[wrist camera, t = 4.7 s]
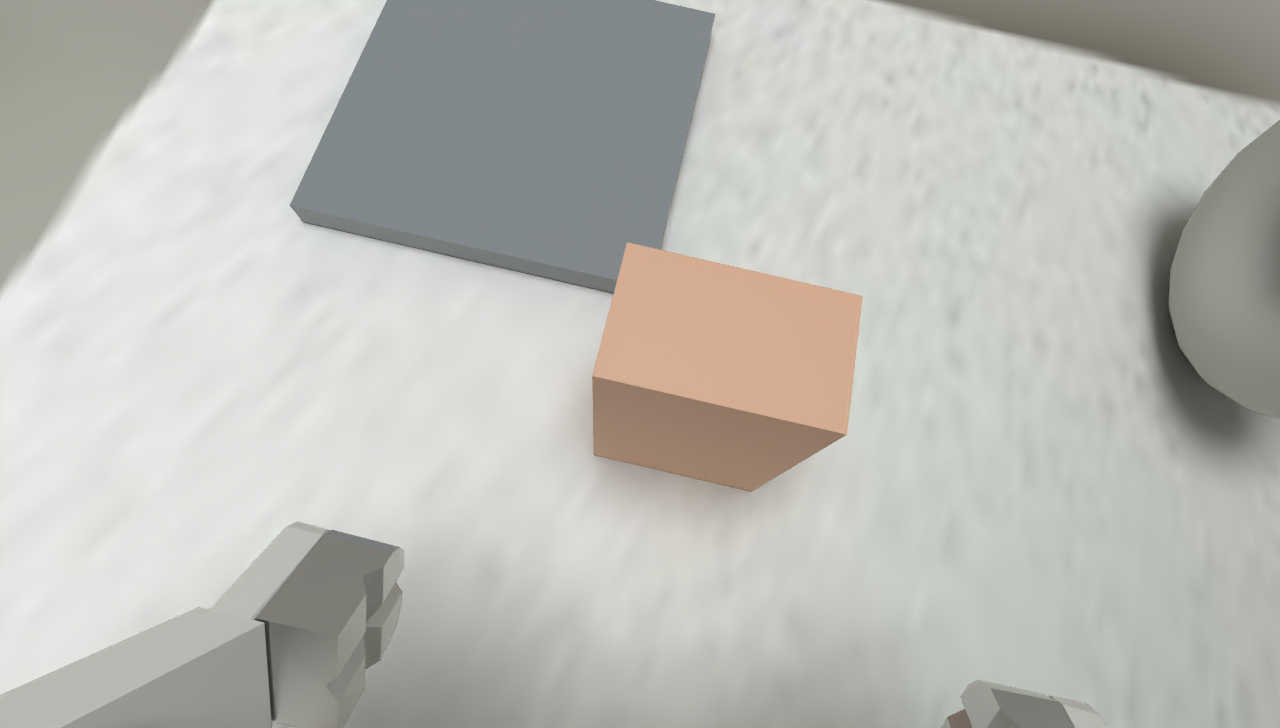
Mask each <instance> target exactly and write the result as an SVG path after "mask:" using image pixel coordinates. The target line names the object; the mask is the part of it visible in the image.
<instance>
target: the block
mask: <svg viewBox="0 0 1280 728" xmlns="http://www.w3.org/2000/svg"><path fill="white" fill-rule="evenodd" d="M861 305H862V296H860V295H856V294H851V293H847V292H843V291H838V290H834V289H830V288H825V287H821V286H816V285H812V284H808V283H803V282H799V281H795V280H790V279H786V278H781V277H777V276H773V275H768V274H764V273H759V272H755V271H751V270H746V269H742V268H738V267H733V266H729V265H724V264H720V263H716V262H711V261H707V260H703V259H698V258H694V257H689V256H685V255H681V254H676V253H672V252H667V251H663V250H659V249H654V248H650V247H646V246H641V245H637V244H632V243H628V242H627V244H626V248H625V252H624V256H623V260H622V264H621V268H620V271H619V275H618V279H617V283H616V287H615V291H614V295H613V298H612V302H611V306H610V310H609V314H608V318H607V322H606V325H605V329H604V333H603V337H602V341H601V345H600V349H599V352H598V356H597V360H596V364H595V368H594V372H593V376H592V380H593V433H594V455H596V456H600V457H605V458H609V459H613V460H618V461H622V462H626V463H630V464H635V465H639V466H643V467H648V468H652V469H656V470H661V471H665V472H669V473H674V474H678V475H682V476H686V477H691V478H695V479H699V480H704V481H708V482H712V483H717V484H721V485H725V486H730V487H734V488H738V489H742V490H747V491H753V490H755V489H756V488H758V487H760V486H761V485H763V484H765V483H766V482H768V481H770V480H771V479H773V478H775V477H777V476H778V475H780V474H782V473H783V472H785V471H787V470H788V469H790V468H792V467H793V466H795V465H797V464H798V463H800V462H802V461H803V460H805V459H807V458H808V457H810V456H812V455H813V454H815V453H817V452H818V451H820V450H822V449H823V448H825V447H827V446H828V445H830V444H832V443H833V442H835V441H837V440H838V439H840V438H842V437H843V436H845V435H847V428H848V419H849V410H850V401H851V393H852V384H853V375H854V366H855V357H856V349H857V340H858V331H859V322H860V314H861Z"/></svg>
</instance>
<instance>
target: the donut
mask: <svg viewBox="0 0 1280 728" xmlns="http://www.w3.org/2000/svg"><path fill="white" fill-rule="evenodd" d="M1169 310H1170V314H1171V318H1172V322H1173V326H1174V330H1175V334H1176V337H1177V341H1178V345H1179V347H1180V349H1181V350H1182V352H1183V353H1184V354H1185V356H1186V357H1187V358H1188V360H1189V361H1190V363H1191V364H1192V365H1193V367H1194V368H1195V370H1196V371H1197V372H1198V374H1199V375H1200V376H1201V377H1202V378H1203V379H1204V380H1205V381H1206V382H1207V383H1208V384H1209V385H1210V386H1211V387H1213V388H1215V389H1216V390H1218V391H1219V392H1221V393H1223V394H1224V395H1226V396H1227V397H1229V398H1231V399H1232V400H1234V401H1235V402H1237V403H1239V404H1240V405H1242V406H1243V407H1245V408H1247V409H1249V410H1252V411H1254V412H1257V413H1259V414H1263V415H1267V416H1272V417H1276V418H1280V120H1279V121H1278V122H1276V123H1275V124H1274V125H1273V126H1272V127H1270V128H1269V129H1268V130H1267V131H1265V132H1264V133H1263V134H1262V135H1260V136H1259V137H1258V138H1257V139H1255V140H1254V141H1253V142H1252V143H1250V144H1249V145H1248V146H1247V147H1245V148H1244V149H1243V150H1242V151H1240V152H1239V153H1238V154H1237V155H1236V156H1235V157H1234V159H1233V160H1232V161H1231V162H1230V163H1229V164H1228V166H1227V167H1226V168H1225V169H1224V170H1223V171H1222V173H1221V174H1220V175H1219V176H1218V177H1217V178H1216V179H1215V181H1214V182H1213V183H1212V184H1211V185H1210V186H1209V188H1208V189H1207V190H1206V191H1205V193H1204V195H1203V196H1202V198H1201V200H1200V201H1199V203H1198V205H1197V207H1196V208H1195V210H1194V212H1193V214H1192V215H1191V217H1190V219H1189V220H1188V222H1187V224H1186V226H1185V227H1184V229H1183V232H1182V235H1181V238H1180V241H1179V244H1178V247H1177V250H1176V253H1175V256H1174V260H1173V263H1172V266H1171V272H1170V289H1169Z"/></svg>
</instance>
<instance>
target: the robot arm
mask: <svg viewBox="0 0 1280 728" xmlns="http://www.w3.org/2000/svg"><path fill="white" fill-rule="evenodd" d="M403 569H404V550H403V549H401V548H400V547H397V546H393V545H389V544H385V543H381V542H377V541H374V540H370V539H366V538H362V537H358V536H354V535H350V534H346V533H343V532H339V531H335V530H328V529H324V528H320V527H316V526H313V525H309V524H305V523H301V522H295V523H293V524H291V525H289V526H287V527H286V528H284V530H283V531H282V532H281V533H280V534H279V535H278V536H277V537H276V538H275V539H274V540H273V541H272V543H271V544H270V545H269V546H268V547H267V548H266V549H265V550H264V551H263V552H262V553H261V555H260V556H259V557H258V558H257V559H256V560H255V561H254V562H253V563H252V564H251V565H250V566H249V568H248V569H247V570H246V571H245V572H244V573H243V574H242V575H241V576H240V577H239V578H238V580H237V581H236V582H235V583H234V584H233V585H232V586H231V587H230V588H229V589H228V590H227V591H226V593H225V594H224V595H223V596H222V597H221V598H220V599H219V600H218V601H217V602H216V603H215V605H214V606H213V607H212V608H211V609H205V608H200V607H198V608H196V609H193V610H191V611H189V612H187V613H184V614H182V615H180V616H178V617H175V618H173V619H171V620H168V621H166V622H164V623H162V624H159V625H157V626H155V627H153V628H150V629H148V630H146V631H144V632H141V633H139V634H137V635H135V636H132V637H130V638H128V639H126V640H123V641H121V642H119V643H117V644H114V645H112V646H110V647H108V648H105V649H103V650H101V651H99V652H96V653H94V654H92V655H90V656H87V657H85V658H83V659H81V660H78V661H76V662H74V663H72V664H69V665H67V666H65V667H63V668H60V669H58V670H56V671H53V672H51V673H49V674H47V675H44V676H42V677H40V678H38V679H35V680H33V681H31V682H29V683H26V684H24V685H22V686H20V687H17V688H15V689H13V690H11V691H8V692H6V693H4V694H2V695H0V728H271V727H272V722H273V723H278V724H283V725H288V726H293V727H298V728H343V726H344V725H345V723H346V721H347V719H348V718H349V716H350V714H351V712H352V710H353V709H354V707H355V705H356V703H357V701H358V700H359V698H360V696H361V694H362V692H363V691H364V683H365V669H367V668H368V667H370V666H372V665H373V664H375V663H377V662H378V661H380V660H381V658H382V656H383V654H384V652H385V650H386V649H387V647H388V645H389V643H390V641H391V638H392V635H393V633H394V630H395V627H396V625H397V622H398V618H399V614H400V609H401V604H402V590H401V589H400V587H399V586H398V585H397V583H396V580H397V579H398V577H399V575H400V574H401V572H402V570H403ZM960 697H961V700H962V703H963V706H964V710H962V711H959V712H957V713H955V714H953V715H951V716H949V717H947V718H946V720H945V722H944V724H943V725H942V727H941V728H1107V727H1106V725H1105V723H1104V722H1103V720H1102V718H1101V717H1100V715H1099V714H1098V713H1097V712H1096V711H1095V710H1094V709H1093V708H1092V707H1091V706H1089V705H1088V704H1085V703H1081V702H1076V701H1072V700H1067V699H1063V698H1058V697H1054V696H1047V695H1044V694H1041V693H1036V692H1031V691H1027V690H1022V689H1018V688H1013V687H1009V686H1004V685H1000V684H995V683H990V682H986V681H981V680H977V681H975V682H973V683H971V684H969V685H968V686H967V688H966V689H965V691H964V692H963V694H962V695H961V696H960Z"/></svg>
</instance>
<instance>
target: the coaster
mask: <svg viewBox="0 0 1280 728" xmlns="http://www.w3.org/2000/svg"><path fill="white" fill-rule="evenodd" d="M714 17H715V14H713V13H708V12H704V11H699V10H695V9H691V8H686V7H682V6H677V5H673V4H668V3H664V2H659V1H655V0H387V1H386V3H385V6H384V8H383V10H382V12H381V14H380V16H379V18H378V20H377V22H376V25H375V27H374V29H373V31H372V33H371V35H370V37H369V39H368V41H367V44H366V46H365V48H364V50H363V52H362V54H361V56H360V58H359V60H358V63H357V65H356V67H355V69H354V71H353V73H352V75H351V77H350V79H349V81H348V84H347V86H346V88H345V90H344V92H343V94H342V96H341V98H340V100H339V103H338V105H337V107H336V109H335V111H334V113H333V115H332V117H331V119H330V122H329V124H328V126H327V128H326V130H325V132H324V134H323V136H322V138H321V141H320V143H319V145H318V147H317V149H316V151H315V153H314V155H313V157H312V160H311V162H310V164H309V166H308V168H307V170H306V172H305V174H304V176H303V179H302V181H301V183H300V185H299V187H298V189H297V191H296V193H295V195H294V197H293V200H292V202H291V204H290V206H291V208H292V209H293V210H294V211H295V212H296V214H297V215H298V216H299V217H300V219H301V220H302V221H303V222H306V223H310V224H315V225H319V226H323V227H328V228H332V229H336V230H341V231H345V232H350V233H354V234H358V235H363V236H367V237H371V238H376V239H380V240H384V241H389V242H393V243H397V244H402V245H406V246H410V247H415V248H419V249H424V250H428V251H432V252H437V253H441V254H445V255H450V256H454V257H458V258H463V259H467V260H471V261H476V262H480V263H485V264H489V265H493V266H498V267H502V268H506V269H511V270H515V271H519V272H524V273H528V274H532V275H537V276H541V277H546V278H550V279H554V280H559V281H563V282H567V283H572V284H576V285H580V286H585V287H589V288H593V289H598V290H602V291H606V292H611V293H614V291H615V287H616V283H617V279H618V275H619V271H620V268H621V264H622V260H623V256H624V252H625V248H626V244H627V242H628V243H632V244H637V245H641V246H646V247H650V248H654V249H659V250H660V245H661V241H662V237H663V233H664V229H665V224H666V220H667V216H668V212H669V208H670V204H671V199H672V195H673V191H674V187H675V183H676V178H677V174H678V170H679V166H680V162H681V157H682V153H683V149H684V145H685V141H686V137H687V132H688V128H689V124H690V120H691V116H692V111H693V107H694V103H695V99H696V95H697V90H698V86H699V82H700V78H701V74H702V70H703V65H704V61H705V57H706V53H707V49H708V44H709V40H710V36H711V31H712V27H713V22H714Z"/></svg>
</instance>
